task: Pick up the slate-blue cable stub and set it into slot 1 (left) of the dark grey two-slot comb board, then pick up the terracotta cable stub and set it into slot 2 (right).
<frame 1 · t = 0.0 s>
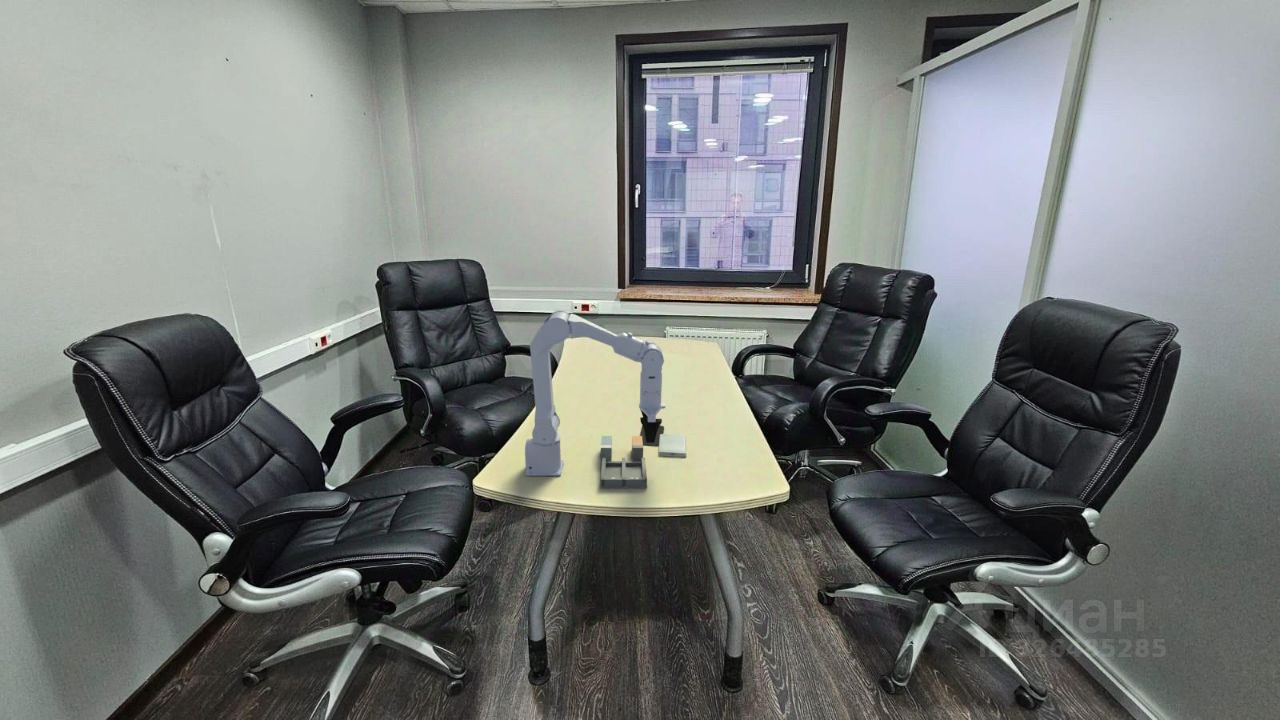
hand: (649, 436, 143), 10 cm above the table, tool pointing down, fingers open, 7 cm apart
hard drive: (672, 448, 160), on the table
terracotta stub: (637, 455, 153), on the table
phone: (651, 437, 167), on the table
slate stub: (606, 455, 153), on the table
slot comb: (623, 476, 142), on the table
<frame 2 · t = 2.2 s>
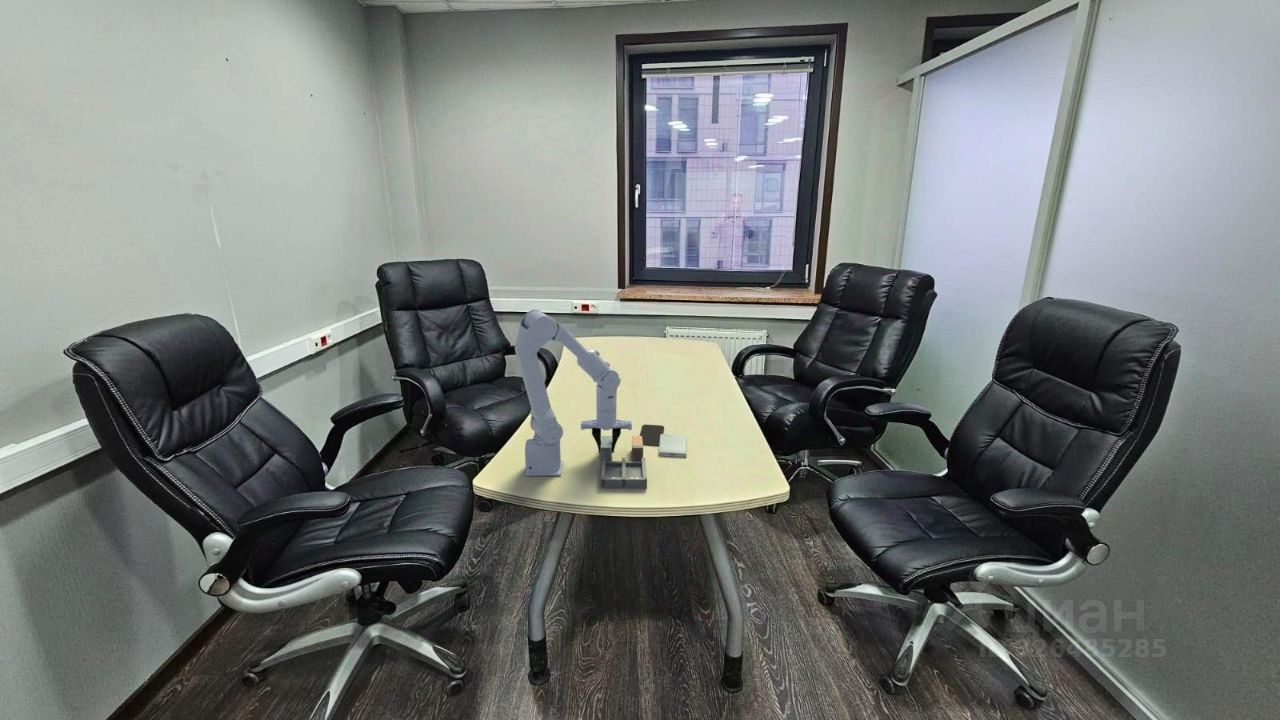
hand: (606, 451, 153), 1 cm above the table, tool pointing down, fingers closed on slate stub, 3 cm apart
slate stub: (606, 455, 153), on the table, touching gripper
everything else where it was.
when the fingers open (3 cm above the table, at t = 5.0 s): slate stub stays where it is, resting on slot comb.
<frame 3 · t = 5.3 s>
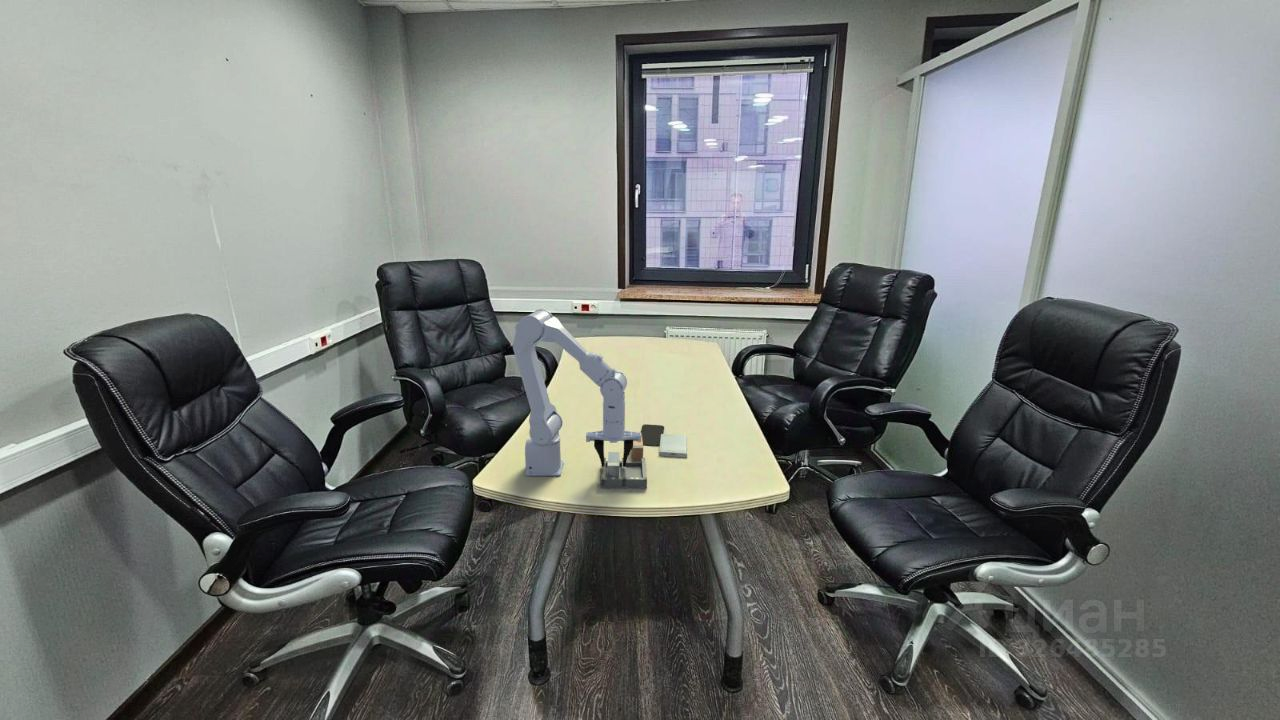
hand: (613, 465, 141), 3 cm above the table, tool pointing down, fingers open, 5 cm apart
hard drive: (673, 448, 160), on the table, touching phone
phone: (651, 437, 167), on the table, touching hard drive
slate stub: (613, 473, 142), resting on slot comb
everything else where it was.
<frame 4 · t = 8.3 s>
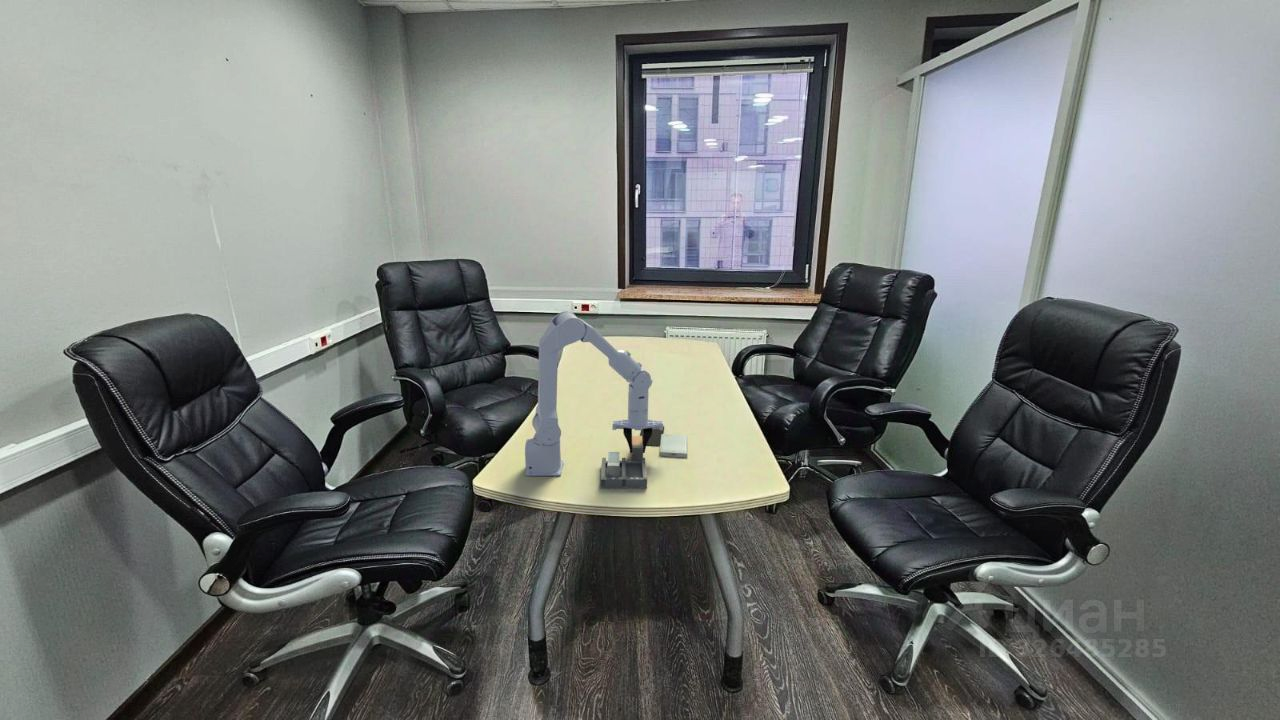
hand: (637, 451, 153), 1 cm above the table, tool pointing down, fingers closed on terracotta stub, 3 cm apart
hard drive: (673, 448, 159), on the table
terracotta stub: (637, 455, 153), on the table, touching gripper
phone: (651, 437, 167), on the table
everything else where it was.
when the fingers open (3 cm above the table, at t = 11.2 s): terracotta stub stays where it is, resting on slot comb.
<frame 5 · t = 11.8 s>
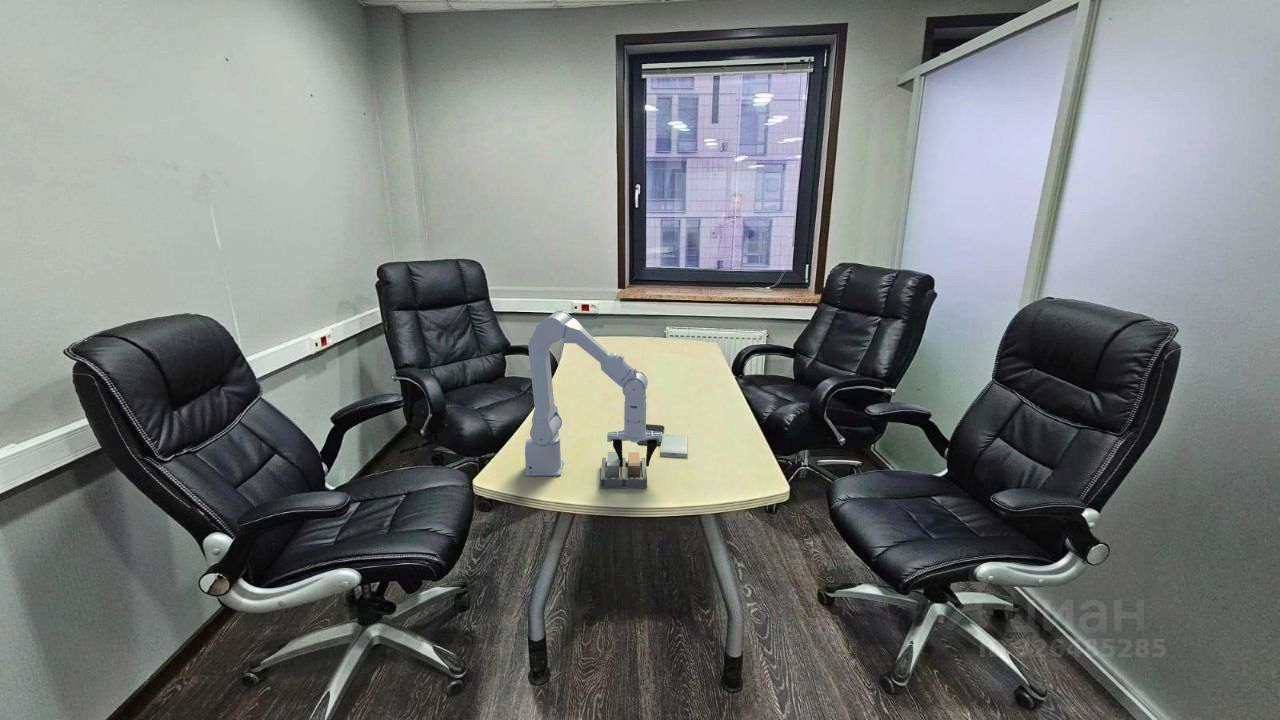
hand: (634, 464, 141), 3 cm above the table, tool pointing down, fingers open, 6 cm apart
hard drive: (674, 448, 159), on the table, touching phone
terracotta stub: (633, 473, 142), resting on slot comb
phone: (651, 437, 167), on the table, touching hard drive
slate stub: (613, 473, 142), point 1 cm above the table, touching gripper, slot comb
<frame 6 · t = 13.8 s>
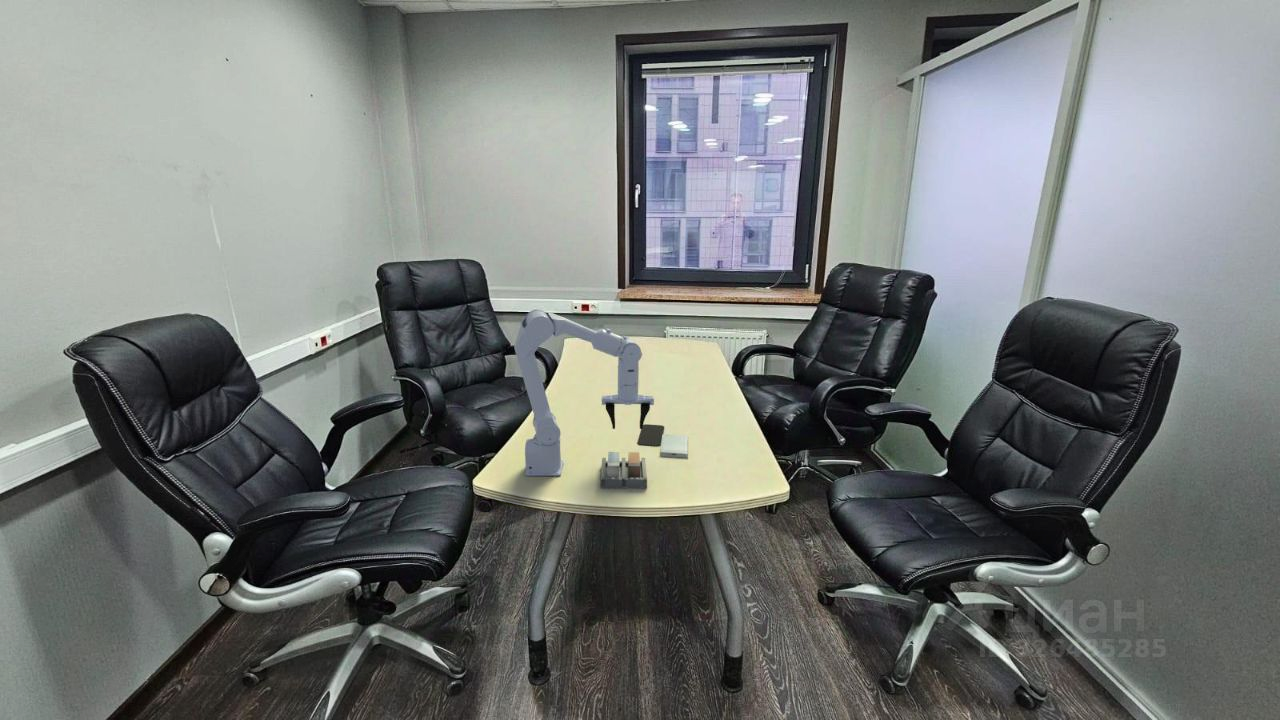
hand: (627, 427, 148), 10 cm above the table, tool pointing down, fingers open, 7 cm apart
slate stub: (613, 473, 142), resting on slot comb
everything else where it was.
at the end: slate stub 0.6 cm from the target spot on the slot comb, point 0.5 cm above the slot comb's base; terracotta stub 0.4 cm from the target spot on the slot comb, point 0.5 cm above the slot comb's base; the gripper is holding nothing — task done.
